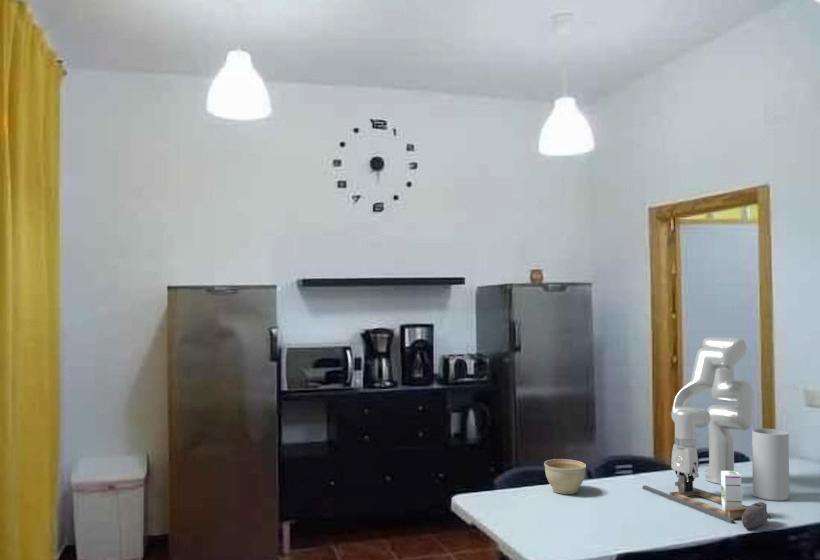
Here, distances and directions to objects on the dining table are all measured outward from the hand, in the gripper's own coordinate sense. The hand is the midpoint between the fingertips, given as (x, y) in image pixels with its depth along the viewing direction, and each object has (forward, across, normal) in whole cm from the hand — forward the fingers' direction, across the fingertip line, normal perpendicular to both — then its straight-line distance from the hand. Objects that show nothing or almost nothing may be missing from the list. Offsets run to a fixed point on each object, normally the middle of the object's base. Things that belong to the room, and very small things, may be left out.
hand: (685, 489), depth 275 cm
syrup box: (+3, +23, 0) cm, 23 cm away
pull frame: (+2, +14, 0) cm, 14 cm away
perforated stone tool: (+3, +36, -4) cm, 37 cm away
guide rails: (+2, +9, 0) cm, 9 cm away
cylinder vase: (+3, +12, +30) cm, 32 cm away
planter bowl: (+3, -22, -40) cm, 46 cm away
